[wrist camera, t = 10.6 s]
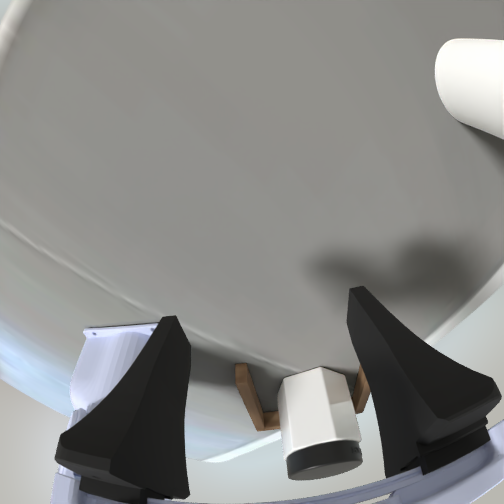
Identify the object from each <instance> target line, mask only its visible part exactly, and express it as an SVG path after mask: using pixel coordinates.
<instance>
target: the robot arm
mask: <svg viewBox="0 0 504 504" xmlns="http://www.w3.org/2000/svg"><path fill="white" fill-rule="evenodd" d="M347 325H348V329H349V333H350V337H351V340H352V344H353V346H354V349H355V351H356V354H357V356H358V359H359V362H360V364H361V367H362V369H363V372H364V374H365V377H366V380H367V382H368V385H369V388H370V391H371V394H372V398H373V402H374V407H375V411H376V415H377V420H378V426H379V431H380V437H381V443H382V450H383V459H384V468H385V476H386V479H383V480H380V481H377V482H374V483H370V484H367V485H363V486H360V487H355V488H352V489H347V490H343V491H339V492H335V493H329V494H325V495H319V496H313V497H307V498H301V499H293V500H285V501H277V502H264V503H246V504H355V503H358V502H363V501H366V500H370V499H373V498H377V497H380V496H383V495H386V494H389V493H391V494H390V496H389V498H388V499H385V500H382V501H379V502H376V503H373V504H470V503H472V502H473V501H475V500H476V499H477V498H479V497H480V496H482V495H484V494H485V493H486V492H488V491H489V490H490V489H492V488H493V487H495V486H496V485H497V484H499V483H500V482H501V481H503V480H504V419H503V420H502V421H500V422H499V423H497V424H496V425H494V426H493V427H491V428H490V429H488V430H487V429H486V426H485V425H486V424H488V420H487V418H486V415H487V414H488V413H489V412H490V411H491V410H492V409H493V408H494V407H495V406H496V405H497V404H498V403H499V402H500V400H501V397H502V396H501V394H500V391H499V389H498V387H497V385H496V383H495V382H494V380H493V379H492V378H491V377H488V376H486V375H483V374H481V373H478V372H476V371H473V370H471V369H469V368H467V367H465V366H463V365H461V364H459V363H457V362H455V361H453V360H452V359H450V358H449V357H447V356H445V355H443V354H442V353H440V352H438V351H437V350H435V349H434V348H433V347H431V346H430V345H428V344H427V343H426V342H424V341H423V340H421V339H420V338H419V337H418V336H416V335H415V334H414V333H413V332H412V331H410V330H409V329H408V328H407V327H406V326H404V325H403V324H402V323H401V322H400V321H399V320H398V319H397V318H396V317H395V316H394V315H392V314H391V313H390V312H389V311H388V310H387V309H386V308H385V307H384V306H383V305H382V304H381V303H380V302H379V301H378V300H377V299H376V298H375V297H374V296H373V295H372V294H371V293H370V292H369V291H368V290H367V289H366V288H365V287H364V286H360V287H355V288H350V289H349V301H348V313H347ZM153 328H154V329H153ZM83 333H84V335H85V336H86V337H87V339H86V341H85V344H84V346H83V349H82V351H81V354H80V357H79V359H78V362H77V364H76V367H75V370H74V372H73V375H72V378H71V382H70V398H71V402H72V405H73V407H74V409H75V411H73V412H72V414H71V417H70V420H69V423H68V426H67V429H66V431H65V432H64V433H62V434H61V435H60V438H59V442H58V447H57V450H56V455H55V460H56V462H57V463H58V464H59V468H58V473H56V474H55V479H54V484H53V490H52V495H51V502H50V504H207V503H189V502H177V501H171V500H172V499H173V498H175V499H186V498H187V497H188V496H189V495H190V491H189V484H188V477H187V469H186V457H185V435H184V418H185V407H186V399H187V391H188V383H189V376H190V368H191V345H190V343H189V341H188V339H187V337H186V335H185V333H184V331H183V329H182V327H181V325H180V323H179V321H178V319H177V317H176V315H175V316H166V317H162V319H161V320H160V322H159V323H155V324H144V325H132V326H119V327H105V328H88V329H85V330H84V332H83ZM392 492H393V493H392Z"/></svg>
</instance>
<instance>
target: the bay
mask: <svg viewBox="0 0 504 504" xmlns="http://www.w3.org/2000/svg"><path fill="white" fill-rule="evenodd" d="M235 384H236V386H237V388H238V390H239V393H240V395H241V397H242V399H243V402H244V404H245V406H246V408H247V411H248V413H249V415H250V417H251V419H252V421H253V424H254V426H255V428H256V430H257V431H265V430H274V429H281V428H280V419H279V411H274V412H266V413H263V411H262V408H261V405H260V402H259V399H258V396H257V393H256V390H255V387H254V384H253V381H252V378H251V376H250V373H249V370H248V367H247V363H241V364H235ZM370 392H371V391H370V388H369V385H368V382H367V380H366V377H365V374H364V372H363V369H362V367H361V364H360V367H359V372H358V376H357V380H356V384H355V388H354V392H353V396H352V397H351V400H352V403H353V407H354V411H355V414H358V413H362V412H363V411H364V408H365V405H366V403H367V400H368V397H369V395H370Z"/></svg>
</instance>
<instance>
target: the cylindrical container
mask: <svg viewBox="0 0 504 504" xmlns="http://www.w3.org/2000/svg"><path fill="white" fill-rule="evenodd" d="M435 80H436V86H437V90H438V93H439V96H440V98H441V100H442V103H443V104H444V106H445V108H446V109H447V111H448V112H449V113H450V114H451V115H452V116H453V117H454V118H455V119H456V120H458V121H460V122H462V123H464V124H467V125H469V126H472V127H475V128H477V129H480V130H482V131H485V132H487V133H489V134H492V135H494V136H496V137H499V138H501V139H503V140H504V40H492V39H452V40H450V41H448V42H446V43H445V44H444V45H443V46H442V47H441V49H440V51H439V52H438V55H437V58H436V63H435Z"/></svg>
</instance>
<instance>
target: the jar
mask: <svg viewBox="0 0 504 504" xmlns="http://www.w3.org/2000/svg"><path fill="white" fill-rule="evenodd" d="M277 401H278V410H279V419H280V428H281V437H282V446H283V456H284V460H285V461H286V462H287V471H288V478H289V479H292V480H314V479H320V478H326V477H330V476H334V475H338V474H341V473H344V472H347V471H350V470H352V469H354V468H356V467H358V466H359V465H361V464H362V462H363V460H362V453H361V449H360V448H359V442H361V440H362V438H361V434H360V430H359V426H358V422H357V418H356V415H355V411H354V407H353V403H352V400H351V396H350V392H349V389H348V385H347V381H346V378H345V375H343V374H340V373H337V372H334V371H331V370H328V369H325V368H323V367H318V368H315V369H312V370H308V371H305V372H302V373H299V374H296V375H292V376H289V377H285V378H284V379H283V381H282V384H281V387H280V389H279V392H278V395H277Z"/></svg>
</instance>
